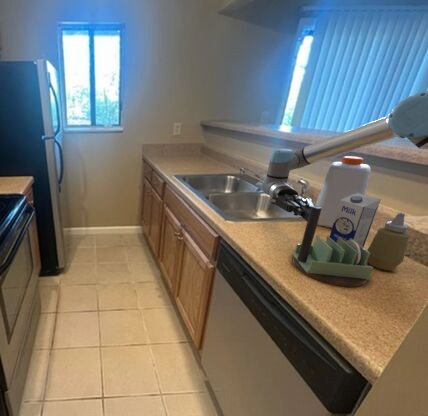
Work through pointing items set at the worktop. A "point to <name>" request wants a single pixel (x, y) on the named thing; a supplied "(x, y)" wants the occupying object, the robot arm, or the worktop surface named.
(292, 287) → the worktop surface
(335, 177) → the plastic bottle
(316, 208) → the dish rack
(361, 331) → the worktop surface
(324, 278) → the turntable
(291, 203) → the robot arm
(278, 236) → the worktop surface
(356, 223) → the milk carton
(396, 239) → the squeeze bottle
